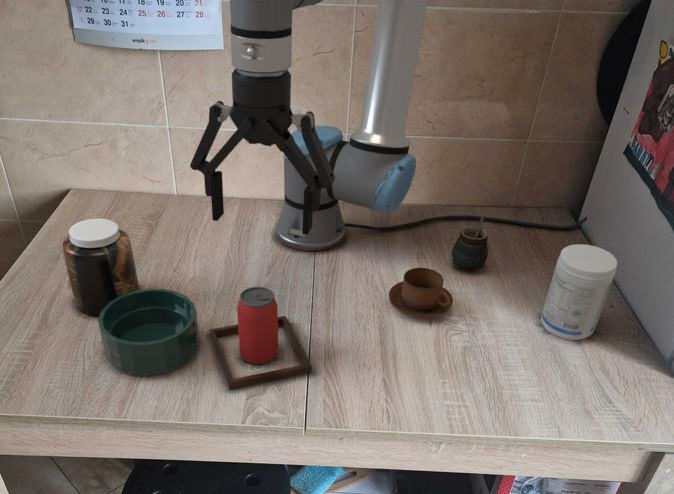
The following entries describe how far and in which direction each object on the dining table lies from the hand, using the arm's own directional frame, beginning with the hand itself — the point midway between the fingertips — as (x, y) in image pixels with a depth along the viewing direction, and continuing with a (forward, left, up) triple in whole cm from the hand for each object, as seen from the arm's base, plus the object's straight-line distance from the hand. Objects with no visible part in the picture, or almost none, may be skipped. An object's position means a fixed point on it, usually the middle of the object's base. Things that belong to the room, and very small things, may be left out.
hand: (262, 223), depth 94 cm
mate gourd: (-48, -16, -26) cm, 57 cm away
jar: (+24, -25, -26) cm, 43 cm away
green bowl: (+18, -8, -25) cm, 32 cm away
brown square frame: (+1, -1, -25) cm, 25 cm away
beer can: (+1, -1, -26) cm, 26 cm away
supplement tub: (-55, +8, -26) cm, 61 cm away
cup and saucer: (-32, -6, -26) cm, 42 cm away
